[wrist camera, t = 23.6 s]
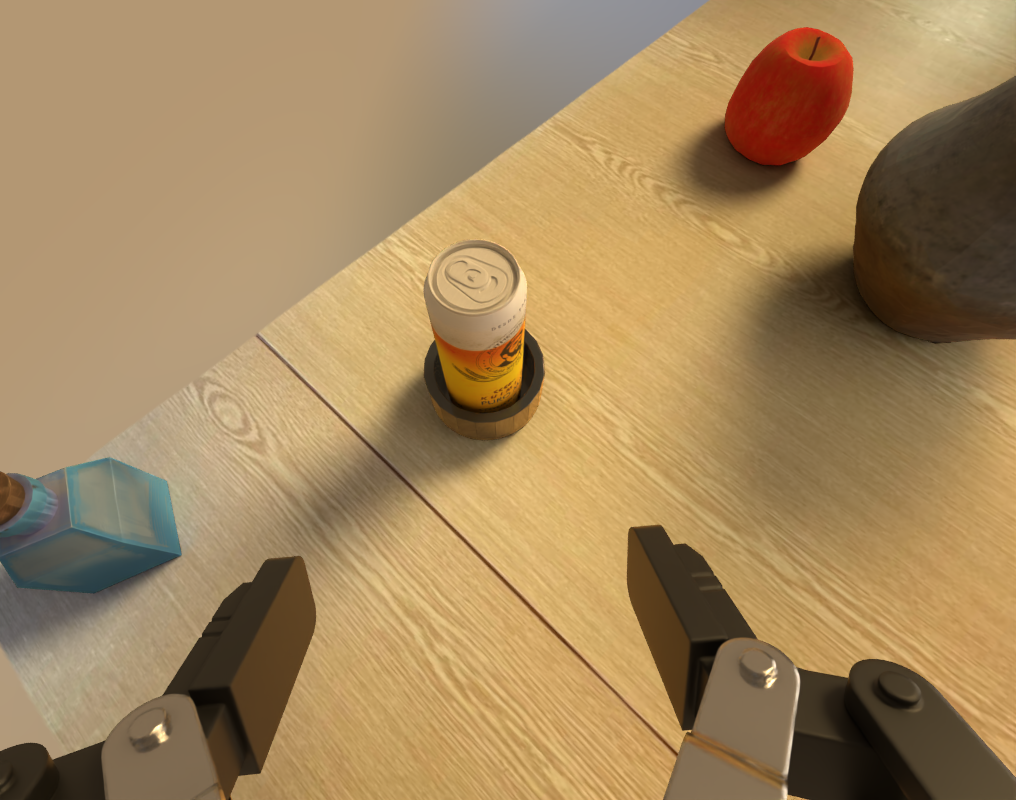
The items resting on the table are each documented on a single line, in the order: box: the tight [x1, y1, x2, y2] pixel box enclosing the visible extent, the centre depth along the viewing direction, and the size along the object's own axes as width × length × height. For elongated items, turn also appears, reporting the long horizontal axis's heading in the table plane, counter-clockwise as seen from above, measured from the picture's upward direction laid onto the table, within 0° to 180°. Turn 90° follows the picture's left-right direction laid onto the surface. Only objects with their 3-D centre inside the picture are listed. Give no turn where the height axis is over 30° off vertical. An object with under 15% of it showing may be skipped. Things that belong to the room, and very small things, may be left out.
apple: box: [725, 27, 853, 165], centre depth 50 cm, size 11×11×11 cm
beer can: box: [424, 239, 527, 413], centre depth 35 cm, size 6×6×15 cm
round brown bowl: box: [424, 329, 545, 440], centre depth 41 cm, size 9×9×4 cm
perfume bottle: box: [0, 457, 182, 593], centre depth 32 cm, size 6×6×12 cm
